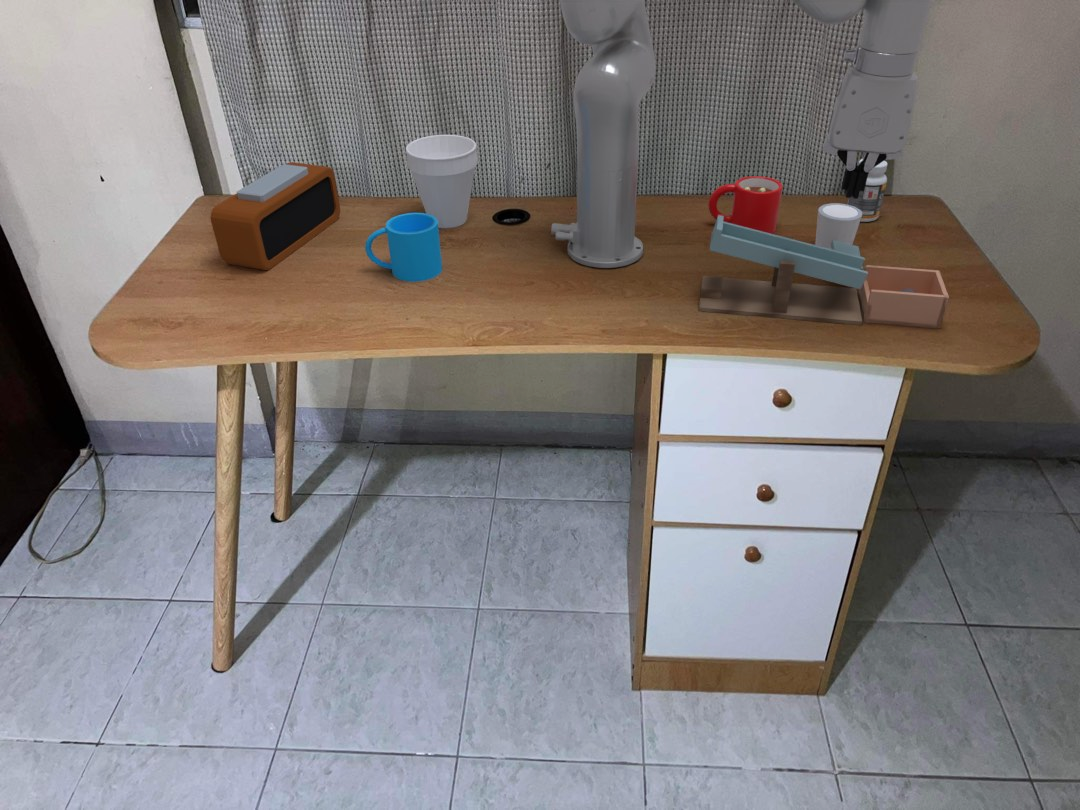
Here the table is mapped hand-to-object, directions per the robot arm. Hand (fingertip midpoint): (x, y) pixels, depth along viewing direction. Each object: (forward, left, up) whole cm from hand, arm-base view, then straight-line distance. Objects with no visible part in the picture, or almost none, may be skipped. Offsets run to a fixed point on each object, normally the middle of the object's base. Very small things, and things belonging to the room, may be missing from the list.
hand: (851, 194), depth 120 cm
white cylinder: (+1, +12, -15) cm, 19 cm away
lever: (-8, -4, -8) cm, 12 cm away
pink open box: (+9, -7, -15) cm, 18 cm away
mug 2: (-14, +19, -15) cm, 28 cm away
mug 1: (-67, -7, -15) cm, 69 cm away
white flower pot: (-66, +13, -15) cm, 69 cm away
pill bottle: (+7, +27, -15) cm, 31 cm away
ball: (+10, -7, -12) cm, 17 cm away
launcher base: (-8, -7, -15) cm, 18 cm away
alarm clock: (-92, 0, -15) cm, 93 cm away
